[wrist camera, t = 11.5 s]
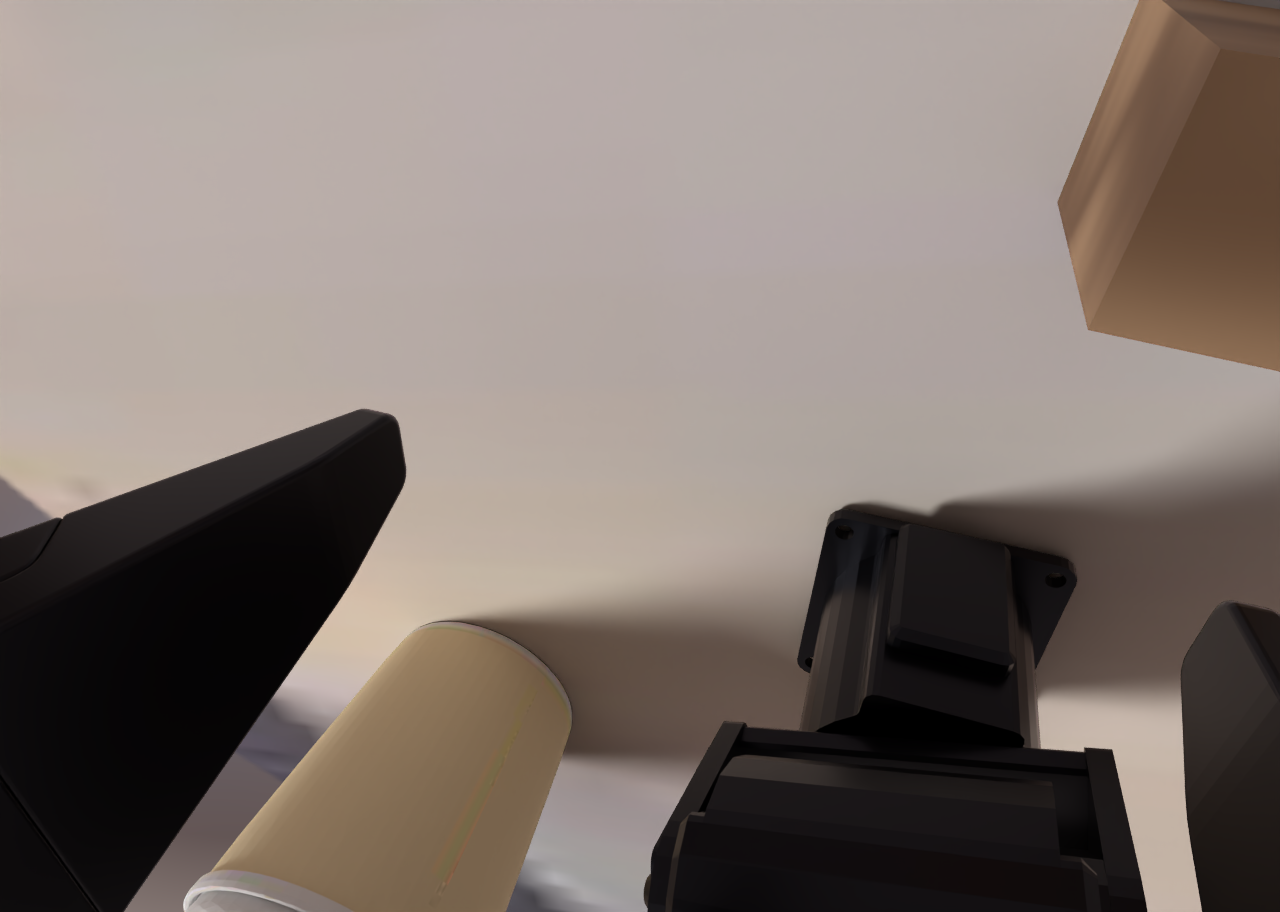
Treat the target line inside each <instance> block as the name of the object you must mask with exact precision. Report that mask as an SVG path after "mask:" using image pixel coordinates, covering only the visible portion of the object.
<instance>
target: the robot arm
mask: <svg viewBox="0 0 1280 912" xmlns="http://www.w3.org/2000/svg"><path fill="white" fill-rule="evenodd" d="M405 478H406V464H405V458H404V452H403V446H402V440H401V434H400V428H399V424H398V421H397V420H396V418H395V417H394V416H392V415H391V414H388V413H383V412H379V411H374V410H370V409H359V410H356V411H353V412H351V413H348V414H345V415H342V416H339V417H337V418H334V419H331V420H328V421H325V422H323V423H320V424H317V425H314V426H312V427H309V428H306V429H303V430H300V431H298V432H295V433H292V434H289V435H286V436H284V437H281V438H278V439H275V440H272V441H270V442H267V443H264V444H261V445H258V446H256V447H253V448H250V449H247V450H244V451H242V452H239V453H236V454H233V455H231V456H228V457H225V458H222V459H219V460H217V461H214V462H211V463H208V464H205V465H203V466H200V467H197V468H194V469H191V470H189V471H186V472H183V473H180V474H177V475H175V476H172V477H169V478H166V479H163V480H161V481H158V482H155V483H152V484H150V485H147V486H144V487H141V488H138V489H136V490H133V491H130V492H127V493H124V494H122V495H119V496H116V497H113V498H110V499H108V500H105V501H102V502H99V503H96V504H94V505H91V506H88V507H85V508H82V509H80V510H77V511H74V512H71V513H69V514H66V515H65V516H64V517H63V519H61V518H54V519H51V520H48V521H46V522H43V523H40V524H38V525H35V526H32V527H29V528H26V529H24V530H21V531H18V532H15V533H12V534H9V535H6V536H3V537H0V912H124V911H125V909H126V908H127V906H128V905H129V904H130V902H131V901H132V899H133V898H134V896H135V895H136V893H137V892H138V890H139V889H140V888H141V886H142V885H143V883H144V882H145V880H146V879H147V878H148V876H149V875H150V873H151V872H152V870H153V869H154V868H155V866H156V865H157V863H158V862H159V860H160V859H161V857H162V856H163V855H164V853H165V851H166V850H167V849H168V847H169V846H170V844H171V843H172V842H173V840H174V839H175V837H176V836H177V834H178V833H179V831H180V830H181V829H182V827H183V825H184V824H185V823H186V821H187V820H188V818H189V817H190V816H191V814H192V813H193V811H194V810H195V808H196V807H197V805H198V804H199V803H200V801H201V800H202V798H203V797H204V795H205V794H206V793H207V791H208V790H209V788H210V787H211V785H212V784H213V782H214V781H215V779H216V778H217V777H218V775H219V774H220V772H221V771H222V769H223V768H224V767H225V765H226V764H227V762H228V761H229V759H230V758H231V757H232V755H233V754H234V752H235V751H236V749H237V748H238V746H239V745H240V744H241V742H242V741H243V739H244V738H245V736H246V735H247V733H248V732H249V731H250V729H251V728H252V726H253V725H254V723H255V722H256V720H257V719H258V718H259V716H260V715H261V713H262V712H263V710H264V709H265V707H266V706H267V705H268V703H269V702H270V700H271V699H272V697H273V696H274V694H275V693H276V692H277V690H278V689H279V687H280V686H281V684H282V683H283V682H284V680H285V679H286V677H287V676H288V674H289V673H290V671H291V670H292V669H293V667H294V666H295V664H296V663H297V661H298V660H299V658H300V657H301V656H302V654H303V653H304V651H305V650H306V648H307V647H308V645H309V644H310V643H311V641H312V640H313V638H314V637H315V635H316V634H317V632H318V631H319V630H320V628H321V627H322V625H323V624H324V622H325V621H326V620H327V618H328V617H329V615H330V614H331V612H332V611H333V609H334V608H335V607H336V605H337V604H338V602H339V601H340V599H341V598H342V596H343V594H344V593H345V591H346V590H347V588H348V587H349V585H350V584H351V582H352V580H353V578H354V577H355V575H356V573H357V572H358V570H359V568H360V566H361V564H362V562H363V561H364V559H365V557H366V555H367V553H368V551H369V550H370V548H371V546H372V544H373V542H374V540H375V538H376V537H377V535H378V533H379V531H380V529H381V527H382V526H383V524H384V522H385V520H386V518H387V516H388V514H389V513H390V511H391V509H392V507H393V505H394V503H395V502H396V500H397V498H398V496H399V494H400V492H401V490H402V488H403V486H404V483H405ZM841 525H846V526H848V527H851V529H852V530H850V531H844V530H842V529H840V528H839V526H841ZM1052 573H1059V574H1061V575H1062V576H1060V577H1057V578H1054V577H1049V576H1048V575H1049V574H1052ZM1076 582H1077V576H1076V569H1075V567H1074V565H1073V563H1072V562H1070V561H1069V560H1068V559H1066V558H1063V557H1060V556H1056V555H1051V554H1047V553H1042V552H1038V551H1033V550H1029V549H1024V548H1019V547H1015V546H1010V545H1006V544H1001V543H997V542H992V541H988V540H983V539H979V538H974V537H970V536H965V535H961V534H956V533H951V532H947V531H942V530H938V529H933V528H929V527H924V526H920V525H915V524H911V523H906V522H902V521H897V520H893V519H888V518H883V517H879V516H874V515H870V514H865V513H861V512H856V511H852V510H838V511H835V512H834V513H832V514H831V515H830V517H829V519H828V523H827V527H826V532H825V536H824V541H823V545H822V550H821V554H820V559H819V563H818V568H817V572H816V577H815V581H814V586H813V590H812V595H811V599H810V604H809V608H808V613H807V617H806V622H805V626H804V631H803V636H802V640H801V645H800V649H799V654H798V658H797V661H798V665H799V666H800V668H802V669H803V670H804V671H806V672H808V673H810V677H809V682H808V687H807V692H806V698H805V703H804V708H803V713H802V718H801V723H800V728H799V731H798V730H784V729H771V728H758V727H747V725H746V723H743V722H729V721H724V722H723V724H722V726H721V727H720V729H719V731H718V733H717V735H716V736H715V738H714V740H713V742H712V744H711V745H710V747H709V748H708V750H707V752H706V754H705V755H704V757H703V759H702V761H701V763H700V765H699V766H698V768H697V770H696V772H695V774H694V775H693V777H692V779H691V781H690V783H689V785H688V786H687V788H686V790H685V792H684V794H683V795H682V797H681V799H680V801H679V803H678V805H677V806H676V808H675V810H674V812H673V814H672V815H671V817H670V819H669V821H668V823H667V825H666V826H665V828H664V830H663V832H662V834H661V836H660V837H659V839H658V841H657V843H656V845H655V847H654V849H653V852H652V857H651V874H650V875H649V876H648V878H647V880H646V883H645V887H644V902H645V904H646V906H647V908H648V912H1147V907H1146V900H1145V895H1144V890H1143V885H1142V880H1141V876H1140V871H1139V867H1138V862H1137V858H1136V853H1135V849H1134V844H1133V840H1132V836H1131V831H1130V827H1129V822H1128V818H1127V813H1126V809H1125V804H1124V800H1123V795H1122V791H1121V786H1120V782H1119V778H1118V773H1117V769H1116V764H1115V760H1114V755H1113V751H1112V749H1098V748H1084V752H1077V751H1064V750H1051V749H1041V744H1040V730H1039V717H1038V704H1037V691H1036V678H1035V669H1036V667H1037V665H1038V663H1039V661H1040V659H1041V657H1042V655H1043V653H1044V651H1045V648H1046V646H1047V644H1048V642H1049V640H1050V638H1051V636H1052V634H1053V632H1054V630H1055V628H1056V626H1057V624H1058V621H1059V619H1060V617H1061V615H1062V613H1063V611H1064V609H1065V607H1066V605H1067V603H1068V601H1069V599H1070V597H1071V594H1072V592H1073V590H1074V588H1075V586H1076ZM810 657H812V658H813V659H812V658H810ZM1181 696H1182V721H1183V746H1184V771H1185V796H1186V810H1187V821H1188V828H1189V835H1190V842H1191V848H1192V854H1193V860H1194V866H1195V872H1196V878H1197V883H1198V889H1199V895H1200V901H1201V907H1202V912H1280V615H1279V614H1278V613H1276V612H1275V611H1273V610H1271V609H1268V608H1264V607H1260V606H1255V605H1251V604H1246V603H1242V602H1237V601H1225V602H1222V603H1221V604H1220V605H1218V606H1217V607H1216V609H1215V610H1214V611H1213V613H1212V614H1211V616H1210V617H1209V619H1208V620H1207V622H1206V624H1205V625H1204V627H1203V628H1202V630H1201V632H1200V633H1199V635H1198V636H1197V638H1196V639H1195V641H1194V643H1193V644H1192V646H1191V647H1190V649H1189V650H1188V652H1187V654H1186V656H1185V658H1184V661H1183V665H1182V670H1181Z"/></svg>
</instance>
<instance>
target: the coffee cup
mask: <svg viewBox="0 0 1280 912" xmlns="http://www.w3.org/2000/svg"><path fill="white" fill-rule="evenodd" d="M571 725H572V710H571V705H570V701H569V699H568V696H567V694H566V692H565V690H564V688H563V686H562V684H561V683H560V682H559V680H558V679H557V678H556V676H555V675H554V674H553V673H552V672H551V671H550V669H549V668H548V667H547V666H546V665H545V664H544V663H543V662H542V661H540V660H539V659H538V658H537V657H536V656H535V655H533V654H532V653H531V652H530V651H528V650H527V649H525V648H524V647H522V646H521V645H519V644H517V643H516V642H514V641H512V640H511V639H509V638H507V637H505V636H503V635H501V634H498V633H496V632H494V631H491V630H489V629H486V628H483V627H480V626H475V625H471V624H466V623H461V622H437V623H430V624H427V625H424V626H421V627H419V628H418V629H416V630H414V631H413V632H412V633H410V634H409V635H408V636H407V637H406V638H405V639H404V640H403V641H402V642H401V643H400V645H399V646H398V647H397V648H396V649H395V650H394V651H393V652H392V654H391V655H390V656H389V657H388V658H387V659H386V660H385V661H384V662H383V664H382V665H381V666H380V667H379V668H378V670H377V671H376V672H375V673H374V674H373V676H372V677H371V678H370V679H369V680H368V681H367V683H366V684H365V685H364V686H363V687H362V689H361V690H360V691H359V692H358V693H357V695H356V696H355V697H354V698H353V699H352V701H351V702H350V703H349V704H348V705H347V707H346V708H345V709H344V710H343V711H342V712H341V714H340V715H339V716H338V717H337V718H336V720H335V721H334V722H333V723H332V724H331V726H330V727H329V728H328V729H327V730H326V732H325V733H324V734H323V735H322V736H321V737H320V739H319V740H318V741H317V742H316V743H315V745H314V746H313V747H312V748H311V749H310V751H309V752H308V753H307V754H306V755H305V757H304V758H303V759H302V760H301V761H300V763H299V764H298V765H297V766H296V768H295V769H294V770H293V771H292V772H291V774H290V775H289V776H288V777H287V778H286V780H285V781H284V782H283V783H282V784H281V786H280V787H279V788H278V789H277V790H276V792H275V793H274V794H273V795H272V796H271V798H270V799H269V800H268V801H267V803H266V804H265V805H264V806H263V807H262V809H261V810H260V811H259V812H258V813H257V815H256V816H255V817H254V818H253V819H252V821H251V822H250V823H249V824H248V825H247V827H246V828H245V829H244V830H243V831H242V833H241V834H240V835H239V836H238V838H237V839H236V840H235V842H234V843H233V844H232V846H231V847H230V848H229V849H228V850H227V852H226V853H225V855H223V857H222V858H221V859H220V861H219V862H218V863H217V864H216V866H215V867H214V868H213V870H212V871H211V872H210V873H207V874H205V875H204V876H202V877H201V878H200V879H199V880H198V881H197V882H196V883H195V884H194V886H193V887H192V888H191V889H190V890H189V892H188V894H187V895H186V897H185V900H184V905H183V907H184V912H506V909H507V906H508V904H509V901H510V898H511V895H512V893H513V890H514V887H515V884H516V882H517V879H518V876H519V873H520V871H521V868H522V865H523V862H524V860H525V857H526V854H527V851H528V849H529V846H530V843H531V840H532V838H533V835H534V832H535V829H536V827H537V824H538V821H539V818H540V816H541V813H542V810H543V808H544V805H545V802H546V799H547V797H548V794H549V791H550V788H551V786H552V783H553V780H554V777H555V775H556V772H557V769H558V766H559V763H560V761H561V758H562V755H563V752H564V749H565V746H566V743H567V740H568V737H569V733H570V730H571Z"/></svg>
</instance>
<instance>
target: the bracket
mask: <svg viewBox="0 0 1280 912" xmlns="http://www.w3.org/2000/svg"><path fill="white" fill-rule="evenodd" d="M1058 206H1059V211H1060V215H1061V219H1062V223H1063V227H1064V231H1065V236H1066V240H1067V244H1068V248H1069V252H1070V257H1071V261H1072V265H1073V269H1074V273H1075V277H1076V282H1077V286H1078V290H1079V294H1080V298H1081V302H1082V307H1083V311H1084V315H1085V319H1086V323H1087V327H1088V330H1091V331H1096V332H1100V333H1105V334H1109V335H1114V336H1119V337H1123V338H1128V339H1133V340H1137V341H1142V342H1146V343H1151V344H1156V345H1160V346H1165V347H1169V348H1174V349H1179V350H1183V351H1188V352H1192V353H1197V354H1202V355H1206V356H1211V357H1215V358H1220V359H1225V360H1229V361H1234V362H1238V363H1243V364H1248V365H1252V366H1257V367H1262V368H1266V369H1271V370H1275V371H1280V0H1139V2H1138V4H1137V7H1136V9H1135V12H1134V14H1133V17H1132V19H1131V22H1130V24H1129V27H1128V29H1127V32H1126V34H1125V37H1124V39H1123V42H1122V44H1121V46H1120V49H1119V51H1118V54H1117V56H1116V59H1115V61H1114V64H1113V66H1112V69H1111V71H1110V74H1109V76H1108V79H1107V81H1106V84H1105V86H1104V89H1103V91H1102V93H1101V96H1100V98H1099V101H1098V103H1097V106H1096V108H1095V111H1094V113H1093V116H1092V118H1091V121H1090V123H1089V126H1088V128H1087V131H1086V133H1085V135H1084V138H1083V140H1082V143H1081V145H1080V148H1079V150H1078V153H1077V155H1076V158H1075V160H1074V163H1073V165H1072V168H1071V170H1070V173H1069V175H1068V178H1067V180H1066V182H1065V185H1064V187H1063V190H1062V192H1061V195H1060V197H1059V200H1058Z"/></svg>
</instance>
